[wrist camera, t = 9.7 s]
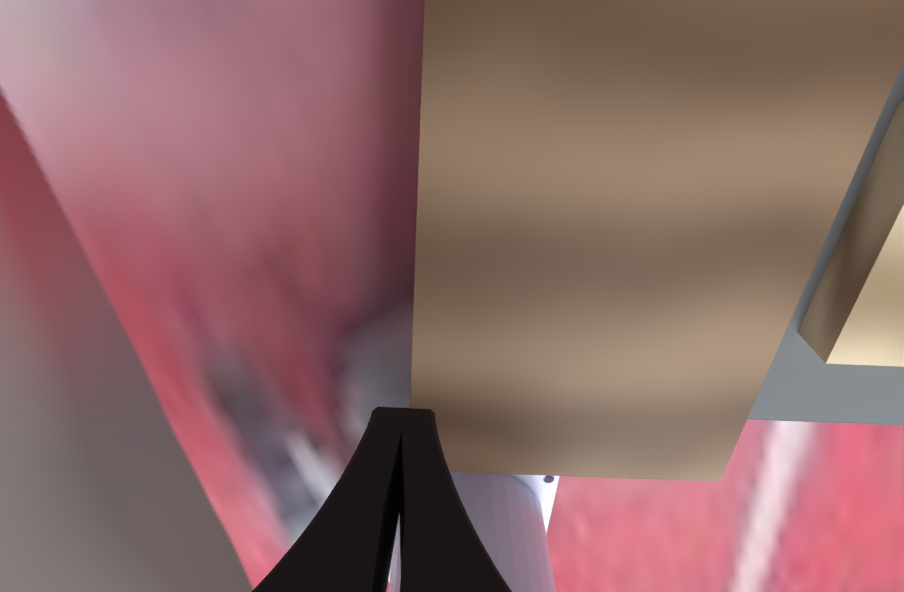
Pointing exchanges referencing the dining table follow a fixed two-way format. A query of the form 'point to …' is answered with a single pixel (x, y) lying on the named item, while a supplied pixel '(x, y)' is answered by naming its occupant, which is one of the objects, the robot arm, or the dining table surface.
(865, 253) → the tile
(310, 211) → the dining table surface
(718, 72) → the brown shallow box
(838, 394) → the mat
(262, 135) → the dining table surface
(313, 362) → the dining table surface
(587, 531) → the dining table surface
